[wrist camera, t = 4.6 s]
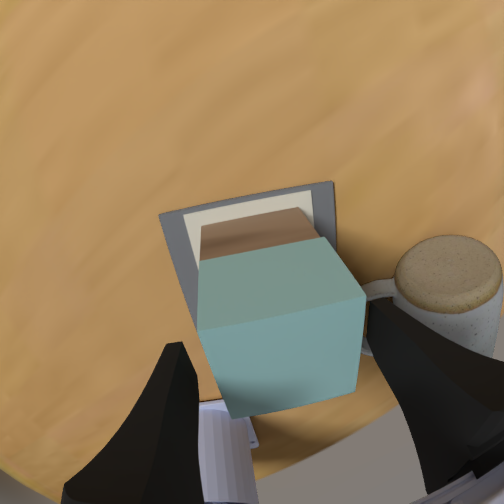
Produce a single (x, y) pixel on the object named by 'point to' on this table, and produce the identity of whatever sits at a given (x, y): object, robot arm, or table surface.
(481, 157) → the table surface
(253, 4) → the table surface
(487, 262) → the ceramic mug
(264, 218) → the walnut block
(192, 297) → the mat
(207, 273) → the teal block
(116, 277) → the table surface
